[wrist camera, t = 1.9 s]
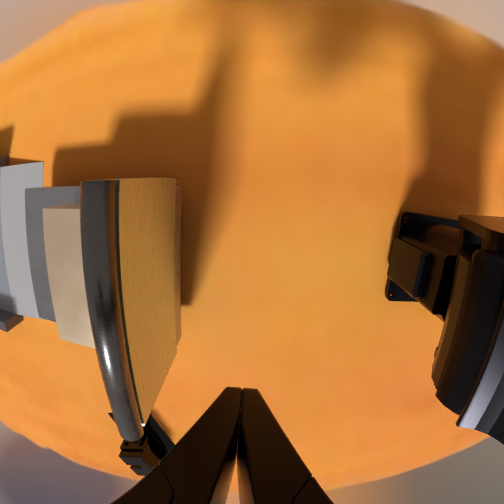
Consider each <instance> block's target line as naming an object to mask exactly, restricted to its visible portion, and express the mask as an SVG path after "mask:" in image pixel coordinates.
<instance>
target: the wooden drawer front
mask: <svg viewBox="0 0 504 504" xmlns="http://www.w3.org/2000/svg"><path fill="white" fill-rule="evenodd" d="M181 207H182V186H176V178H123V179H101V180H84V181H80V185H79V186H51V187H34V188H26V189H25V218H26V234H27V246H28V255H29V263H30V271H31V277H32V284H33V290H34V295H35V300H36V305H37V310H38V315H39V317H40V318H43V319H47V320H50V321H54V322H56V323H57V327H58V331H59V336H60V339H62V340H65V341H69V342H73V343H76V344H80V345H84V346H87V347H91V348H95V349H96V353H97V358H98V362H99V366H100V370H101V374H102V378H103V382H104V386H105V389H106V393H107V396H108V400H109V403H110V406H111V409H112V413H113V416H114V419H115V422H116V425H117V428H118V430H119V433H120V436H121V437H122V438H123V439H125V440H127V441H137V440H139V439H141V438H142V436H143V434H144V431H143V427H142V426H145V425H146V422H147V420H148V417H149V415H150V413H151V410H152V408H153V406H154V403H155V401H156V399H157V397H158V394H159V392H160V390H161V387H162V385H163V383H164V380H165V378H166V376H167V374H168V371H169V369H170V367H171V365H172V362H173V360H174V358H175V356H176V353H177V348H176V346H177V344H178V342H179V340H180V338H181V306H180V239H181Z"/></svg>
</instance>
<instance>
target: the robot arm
mask: <svg viewBox="0 0 504 504" xmlns="http://www.w3.org/2000/svg"><path fill="white" fill-rule="evenodd" d="M405 216H407V218H408V219H407V221H406V222H405V221H404V218H405ZM387 275H388V276H389V277H388V281H387V286H386V290H385V297H386V298H387V299H388V300H389V301H413V302H420V303H421V304H422V305H423V306H424V307H425V308H426V309H428V310H429V311H430V312H431V313H432V314H434V315H436V316H437V317H438V318H439V319H441V320H442V321H443V322H444V326H443V330H442V334H441V338H440V342H439V345H438V347H437V348H436V350H435V354H434V357H435V359H434V362H433V366H432V376H431V377H432V379H433V382H434V385H435V387H436V389H437V391H436V397H437V398H438V399H439V400H440V402H441V403H442V404H443V405H444V406H445V407H446V408H448V409H449V410H451V411H452V412H453V413H455V414H457V415H460V416H459V418H458V420H457V422H456V425H457V426H458V427H463V428H469V429H475V430H478V431H480V432H483V433H486V434H488V435H490V436H492V437H494V438H495V439H497V440H498V441H500V442H501V443H502V444H504V217H493V216H474V215H459V221H457V220H452V219H447V218H442V217H436V216H431V215H425V214H419V213H413V212H407V211H403V212H401V214H400V215H399V219H398V226H397V233H396V239H395V240H394V241H393V246H392V251H391V257H390V262H389V267H388V272H387ZM393 291H394V293H393V295H392V296H390V293H391V292H393ZM241 396H242V398H241ZM240 408H241V410H240ZM239 421H240V422H239ZM238 433H239V435H238ZM237 445H238V447H237ZM236 456H237V473H238V487H239V499H240V504H334V503H333V502H332V501H331V500H330V498H329V497H328V496H327V495H326V493H325V492H324V491H323V489H322V488H321V487H320V485H319V484H318V482H317V481H316V479H315V478H314V477H312V474H311V472H310V471H309V469H308V468H307V466H306V465H305V464H304V462H303V461H302V459H301V458H300V456H299V454H298V453H297V451H296V450H295V448H294V447H293V445H292V444H291V442H290V441H289V439H288V438H287V436H286V434H285V433H284V431H283V430H282V428H281V426H280V425H279V423H278V422H277V420H276V418H275V417H274V415H273V414H272V412H271V410H270V409H269V407H268V405H267V404H266V402H265V400H264V399H263V397H262V395H261V394H260V392H259V391H258V390H257V389H252V388H243V389H241V388H239V387H226V388H225V389H224V390H223V392H222V393H221V394H220V395H219V396H218V397H217V399H216V400H215V401H214V402H213V403H212V404H211V406H210V407H209V408H208V409H207V410H206V411H205V413H204V414H203V415H202V416H201V417H200V418H199V419H198V421H197V422H196V423H195V424H194V425H193V426H192V427H191V428H190V429H189V431H188V432H187V433H186V434H185V435H184V436H183V437H182V438H181V439H180V440H179V442H178V443H177V444H176V445H175V446H174V447H173V448H172V449H171V450H170V451H169V452H168V453H167V454H166V455H165V456H164V458H163V459H162V460H161V461H160V462H159V464H157V465H156V466H155V467H154V468H153V469H152V470H151V471H150V472H149V473H148V474H147V475H146V476H145V477H144V478H142V479H141V480H140V481H139V482H138V483H137V484H136V485H135V486H134V487H132V488H131V489H130V490H128V491H127V492H126V493H124V494H123V495H122V496H120V497H119V498H118V499H116V500H115V501H113V502H112V503H111V504H225V503H226V499H227V495H228V491H229V487H230V483H231V479H232V475H233V471H234V467H235V462H236Z"/></svg>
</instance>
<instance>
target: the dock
mask: <svg viewBox="0 0 504 504" xmlns="http://www.w3.org/2000/svg"><path fill="white" fill-rule="evenodd" d="M43 163H44V162H36V163H27V164H19V165H12V166H8V156H0V329H1V330H3V331H6V332H8V331H9V330H11V329H12V328H13V327H15V326H16V325H17V324H19V323H20V322H21V321H23V317H22V316H28V317H33V318H39V319H43V318H40V317H39V315H38V310H37V305H36V300H35V295H34V290H33V284H32V277H31V271H30V263H29V255H28V246H27V234H26V218H25V189H26V188H34V187H43ZM45 320H47V319H45Z"/></svg>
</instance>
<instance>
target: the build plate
mask: <svg viewBox="0 0 504 504" xmlns="http://www.w3.org/2000/svg"><path fill="white" fill-rule="evenodd" d="M108 414H109V415H110V417H111V418H112V419H113V421H114V422H115V419H114V416H113V413H108ZM115 423H116V422H115ZM142 427H143V431H144V434H143V436H142V438H141V439H139V440H137V441H127V440H125V439H124V440H123V443H122V445H121V447H120V449H121V452H120V455H119V457H120V458H121V459H122V460H123V461H124V462H125V463H126V464H127V465H131V467H130V468H131V469H132V470H133V471H134V472H135V473H136V474H137V475H142V476H146V475H147V474H148V473H149V472H150V471H151V470H152V469H153V468H154V467H155V466H156V465H157V464H159V462H160V461H161V460H162V459H163V458H164V456H165V455H166V454H167V453H168V452H169V451H170V450H171V449H172V448H173V447H174V446H175V444H174V443H173V442H172V441H171V440H170V438H169V437H168V436H167V435H166V433H165V432H164V431H163V430H162V429H161V427H160V426H159V425H158V424H157V422H156V421H155V420H154V418H153V417H152V416H151V414H150V415H149V417H148V420H147V422H146V425H145V426H142Z"/></svg>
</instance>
